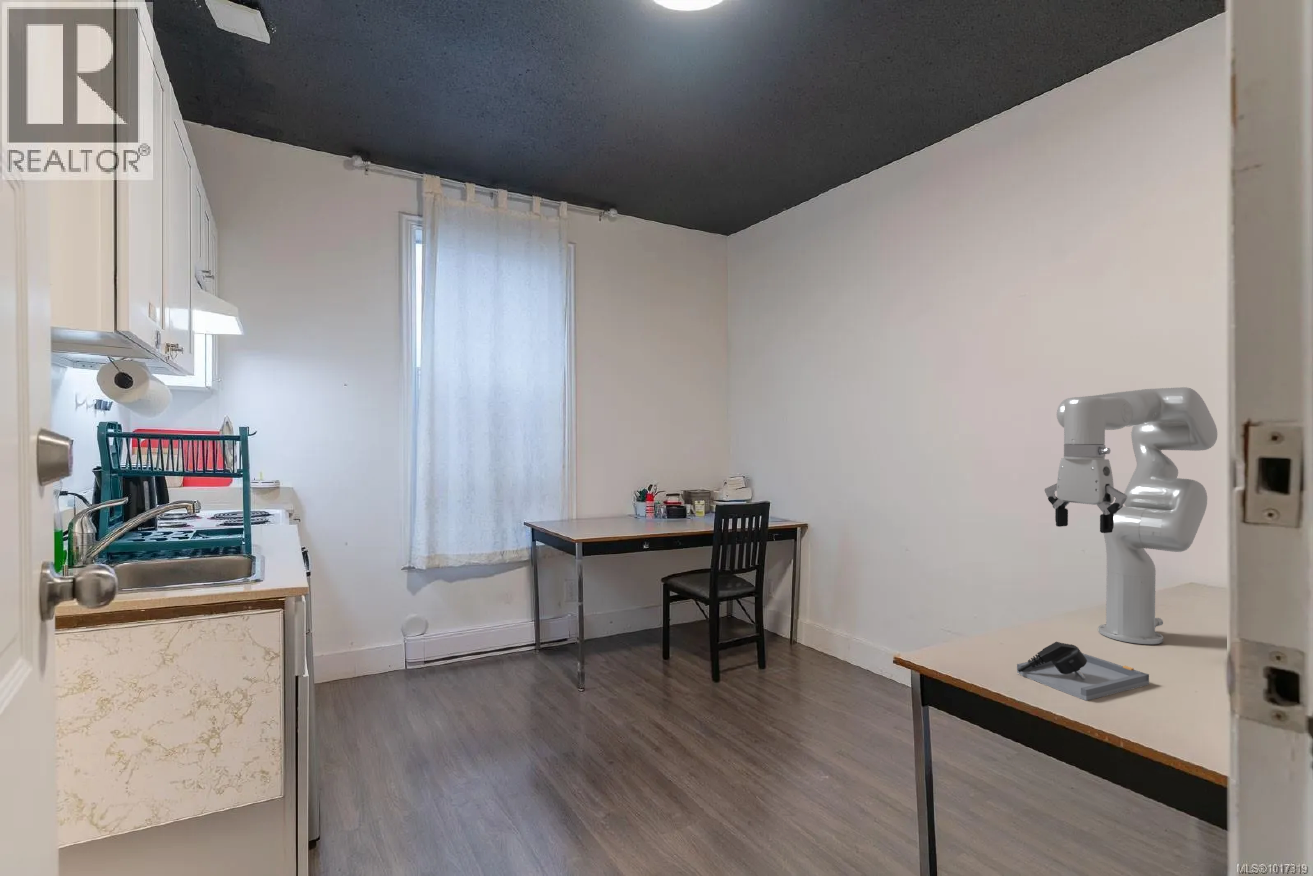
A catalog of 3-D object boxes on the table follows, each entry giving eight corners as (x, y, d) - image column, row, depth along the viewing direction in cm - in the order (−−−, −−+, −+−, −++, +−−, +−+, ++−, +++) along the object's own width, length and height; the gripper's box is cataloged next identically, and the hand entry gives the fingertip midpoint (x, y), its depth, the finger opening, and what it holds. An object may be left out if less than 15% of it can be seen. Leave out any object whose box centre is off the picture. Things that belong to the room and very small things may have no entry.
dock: (1077, 660, 137) (1077, 650, 137) (1148, 684, 124) (1148, 673, 124) (1016, 673, 129) (1017, 662, 129) (1086, 700, 116) (1086, 688, 116)
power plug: (1011, 662, 131) (1064, 632, 128) (1034, 694, 130) (1088, 664, 127) (1020, 672, 125) (1075, 642, 123) (1044, 705, 124) (1100, 675, 122)
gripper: (1137, 453, 132) (1136, 534, 133) (1057, 451, 148) (1056, 523, 149) (1114, 454, 130) (1114, 536, 130) (1035, 451, 145) (1035, 525, 146)
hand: (1083, 529), depth 139 cm, fingers open, 9 cm apart
